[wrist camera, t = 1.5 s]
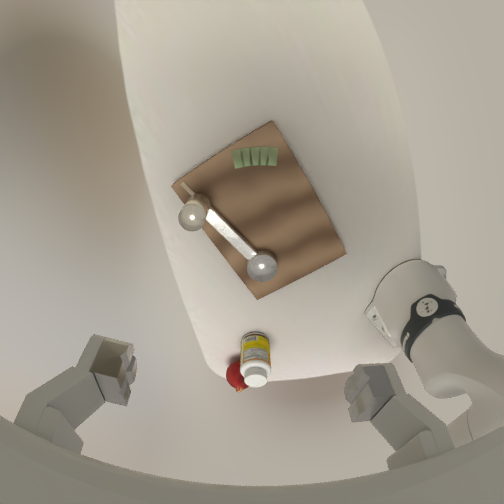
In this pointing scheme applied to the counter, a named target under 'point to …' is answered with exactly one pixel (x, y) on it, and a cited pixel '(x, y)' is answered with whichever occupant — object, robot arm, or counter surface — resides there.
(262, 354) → the supplement bottle
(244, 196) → the board
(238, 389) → the onion
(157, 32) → the counter surface
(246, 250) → the silver measuring spoon
